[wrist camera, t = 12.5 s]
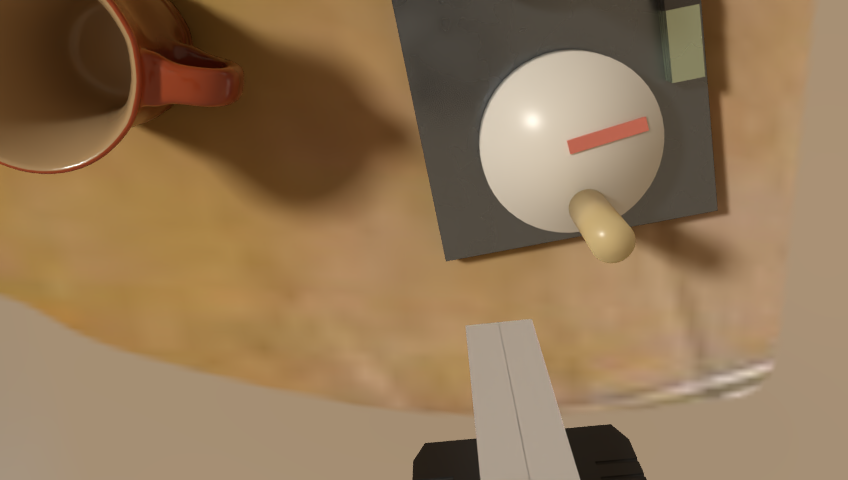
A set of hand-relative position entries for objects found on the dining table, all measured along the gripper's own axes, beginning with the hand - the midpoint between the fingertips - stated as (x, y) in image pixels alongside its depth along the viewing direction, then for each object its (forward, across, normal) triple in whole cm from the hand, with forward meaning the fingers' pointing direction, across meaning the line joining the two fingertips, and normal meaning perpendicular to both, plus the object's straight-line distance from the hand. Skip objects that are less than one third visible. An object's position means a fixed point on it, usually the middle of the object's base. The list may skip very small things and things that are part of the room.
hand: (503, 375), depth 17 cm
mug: (+25, -15, +7) cm, 30 cm away
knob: (+23, +5, 0) cm, 24 cm away
